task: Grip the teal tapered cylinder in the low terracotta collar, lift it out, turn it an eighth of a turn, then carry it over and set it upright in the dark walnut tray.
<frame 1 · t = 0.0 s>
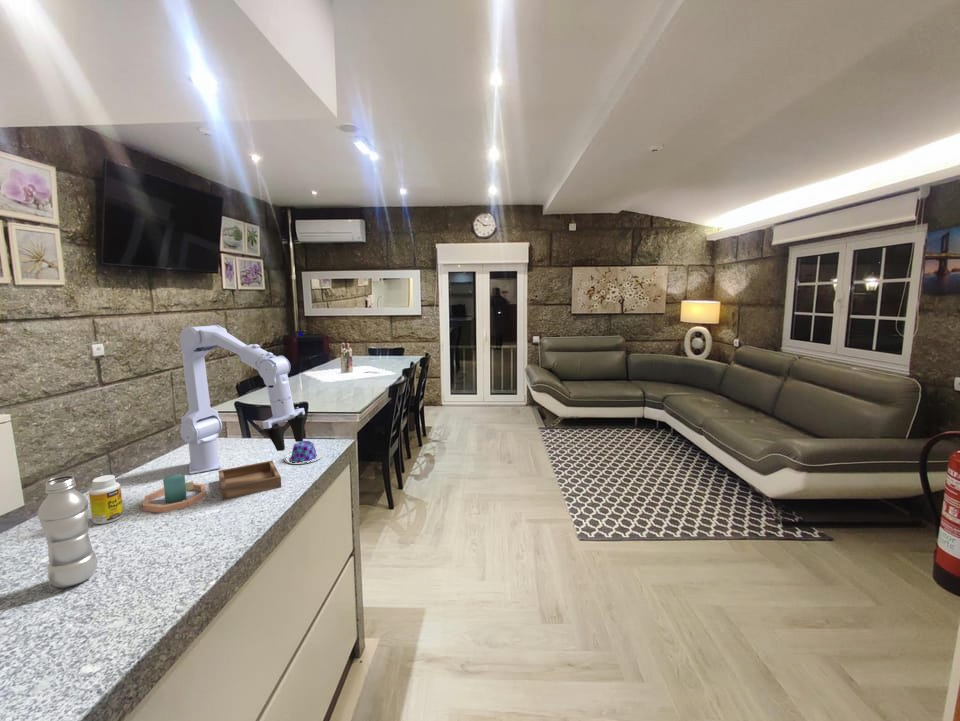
hand: (290, 445, 120), 11 cm above the counter, tool pointing down, fingers open, 7 cm apart
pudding: (304, 459, 139), on the counter
teal tapered cylinder: (179, 488, 110), in the collar
supplement bottle: (108, 519, 100), on the counter
tray: (249, 483, 119), on the counter
collar: (176, 499, 110), on the counter
plastic bottle: (75, 581, 79), on the counter
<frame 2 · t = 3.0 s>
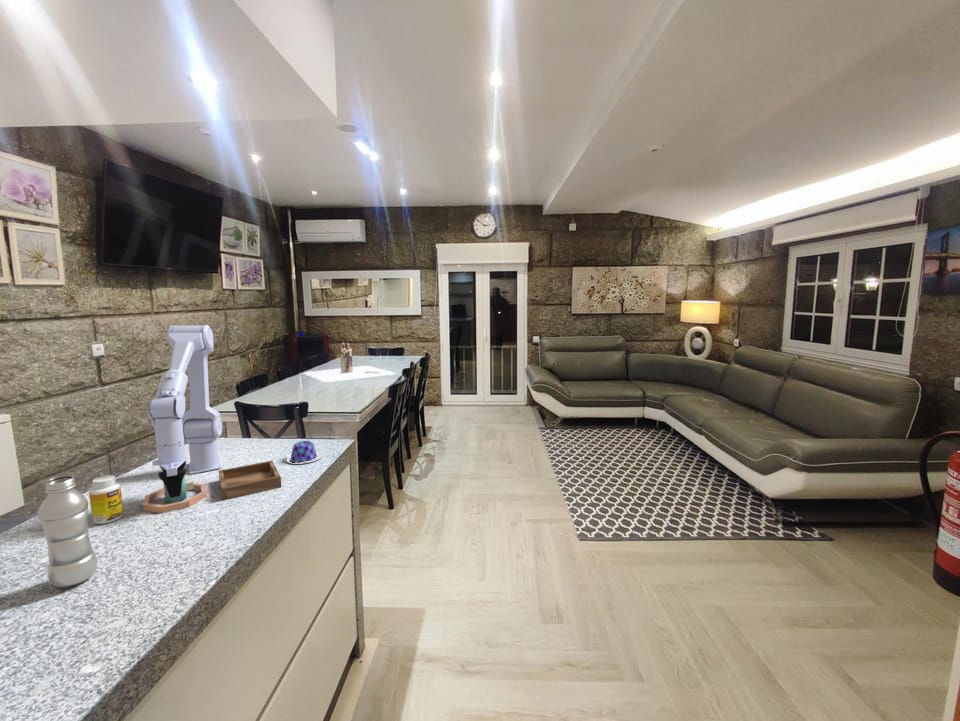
hand: (175, 492, 109), 2 cm above the counter, tool pointing down, fingers closed on teal tapered cylinder, 4 cm apart
teal tapered cylinder: (179, 487, 110), in the collar, touching gripper
everything else where it was.
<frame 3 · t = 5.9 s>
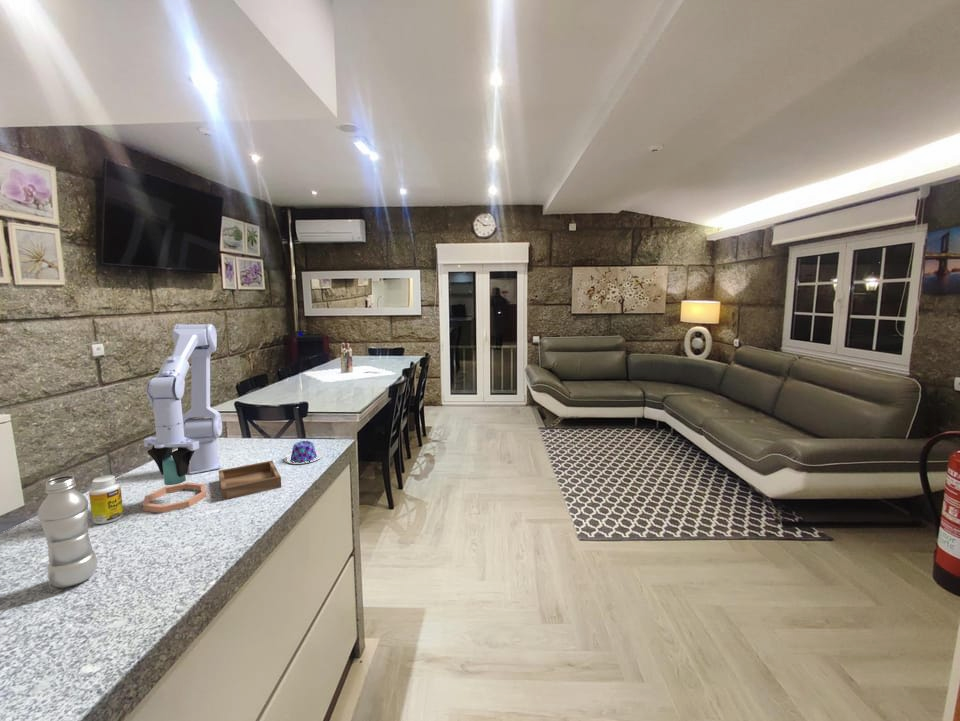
hand: (174, 474, 109), 7 cm above the counter, tool pointing down, fingers closed on teal tapered cylinder, 4 cm apart
teal tapered cylinder: (176, 469, 109), point 8 cm above the counter, touching gripper
everything else where it was.
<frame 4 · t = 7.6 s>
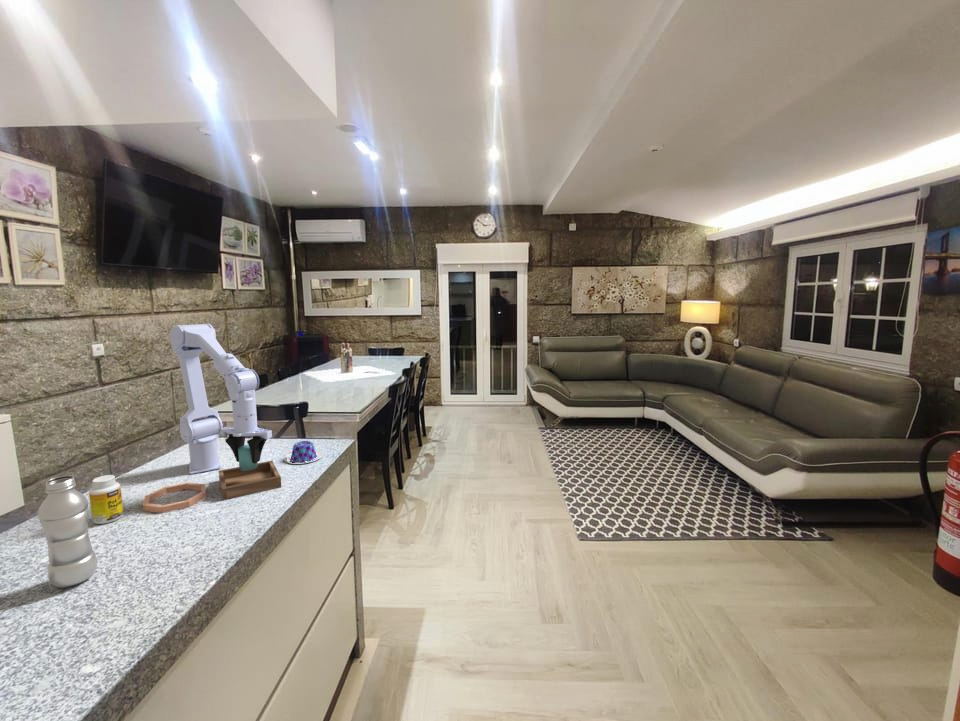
hand: (248, 461, 118), 7 cm above the counter, tool pointing down, fingers closed on teal tapered cylinder, 4 cm apart
teal tapered cylinder: (250, 456, 119), point 8 cm above the counter, touching gripper
when the fingers open (4 cm above the counter, at t = 9.0 s): teal tapered cylinder drops 1 cm, resting on tray.
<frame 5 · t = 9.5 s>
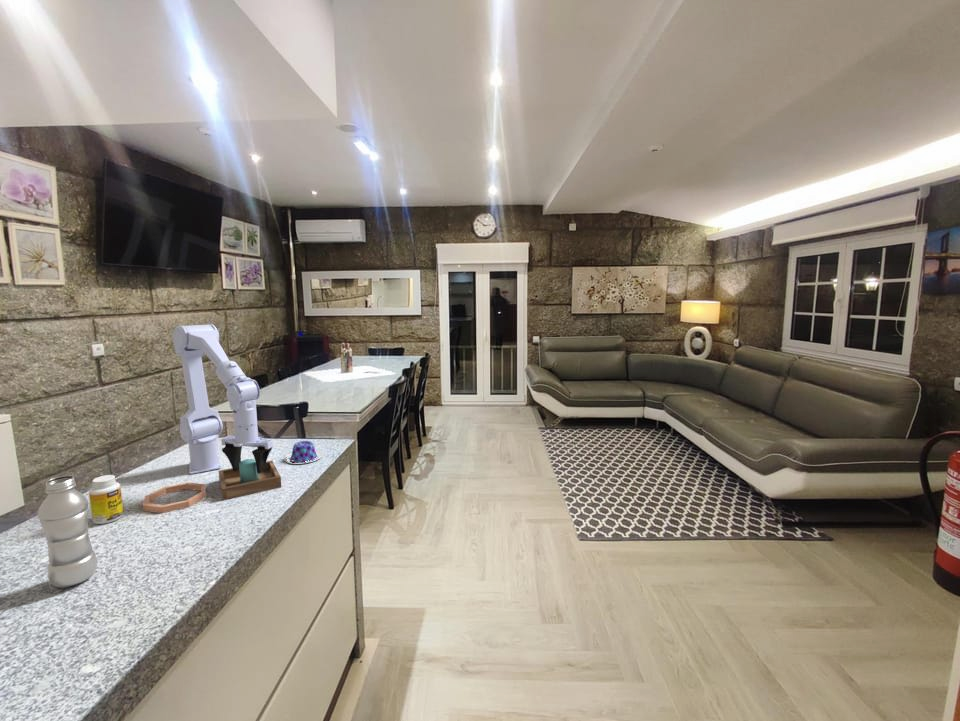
hand: (249, 470, 119), 4 cm above the counter, tool pointing down, fingers open, 7 cm apart
teal tapered cylinder: (251, 470, 120), in the tray
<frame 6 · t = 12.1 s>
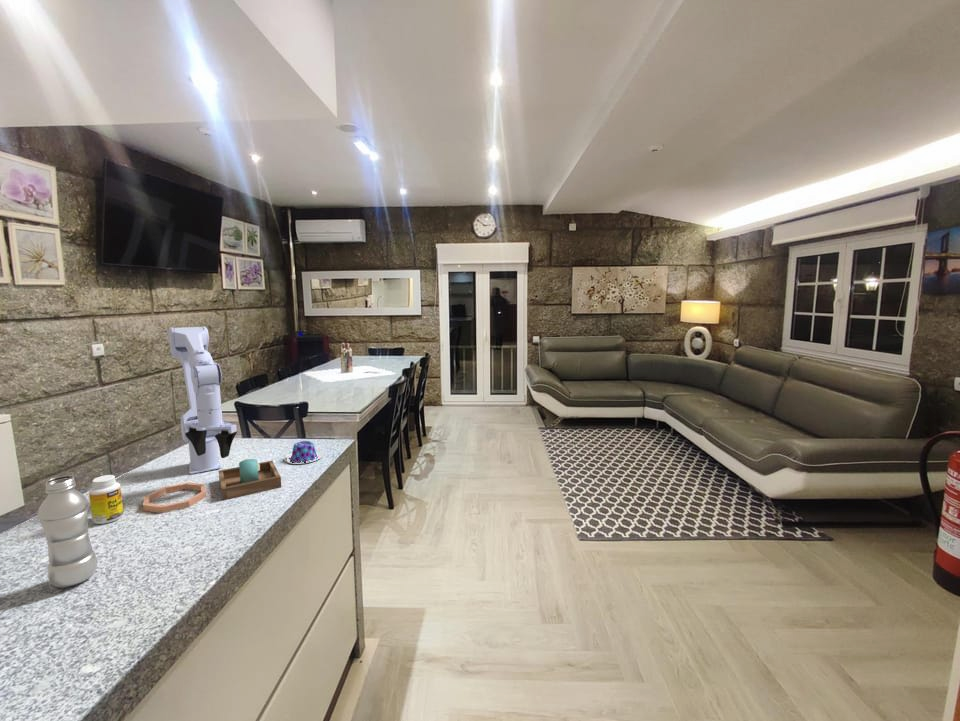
hand: (213, 455, 118), 8 cm above the counter, tool pointing down, fingers open, 7 cm apart
at the end: teal tapered cylinder inside the target area on the tray (0.0 cm from its centre), point 3.5 cm above the tray's base; teal tapered cylinder tilted 0°; the gripper is holding nothing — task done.
